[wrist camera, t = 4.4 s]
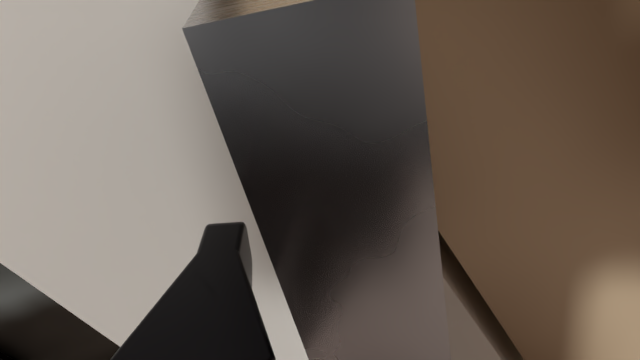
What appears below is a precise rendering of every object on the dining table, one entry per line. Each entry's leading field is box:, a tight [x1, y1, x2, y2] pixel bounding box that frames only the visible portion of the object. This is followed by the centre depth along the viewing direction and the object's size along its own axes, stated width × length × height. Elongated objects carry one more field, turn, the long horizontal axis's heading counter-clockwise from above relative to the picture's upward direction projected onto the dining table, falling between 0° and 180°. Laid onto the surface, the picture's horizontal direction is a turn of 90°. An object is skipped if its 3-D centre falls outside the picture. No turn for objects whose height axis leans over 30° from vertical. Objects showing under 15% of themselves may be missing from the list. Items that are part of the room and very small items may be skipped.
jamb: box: [0, 0, 524, 360], centre depth 13 cm, size 8×22×5 cm, turn 32°
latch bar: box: [182, 0, 451, 360], centre depth 10 cm, size 14×3×3 cm, turn 12°
